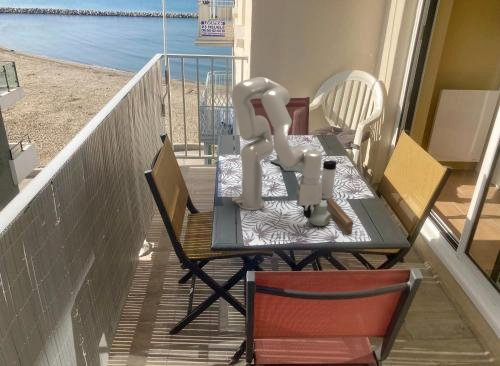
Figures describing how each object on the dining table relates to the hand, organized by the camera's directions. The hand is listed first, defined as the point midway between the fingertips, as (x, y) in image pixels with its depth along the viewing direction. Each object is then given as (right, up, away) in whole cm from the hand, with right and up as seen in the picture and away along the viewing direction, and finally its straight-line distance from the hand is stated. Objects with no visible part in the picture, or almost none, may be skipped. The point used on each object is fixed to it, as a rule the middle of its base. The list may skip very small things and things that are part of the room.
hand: (307, 216), depth 184 cm
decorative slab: (0, +24, +63) cm, 67 cm away
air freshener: (+6, -3, +4) cm, 8 cm away
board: (+15, -3, +5) cm, 16 cm away
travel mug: (+13, +7, +26) cm, 30 cm away
